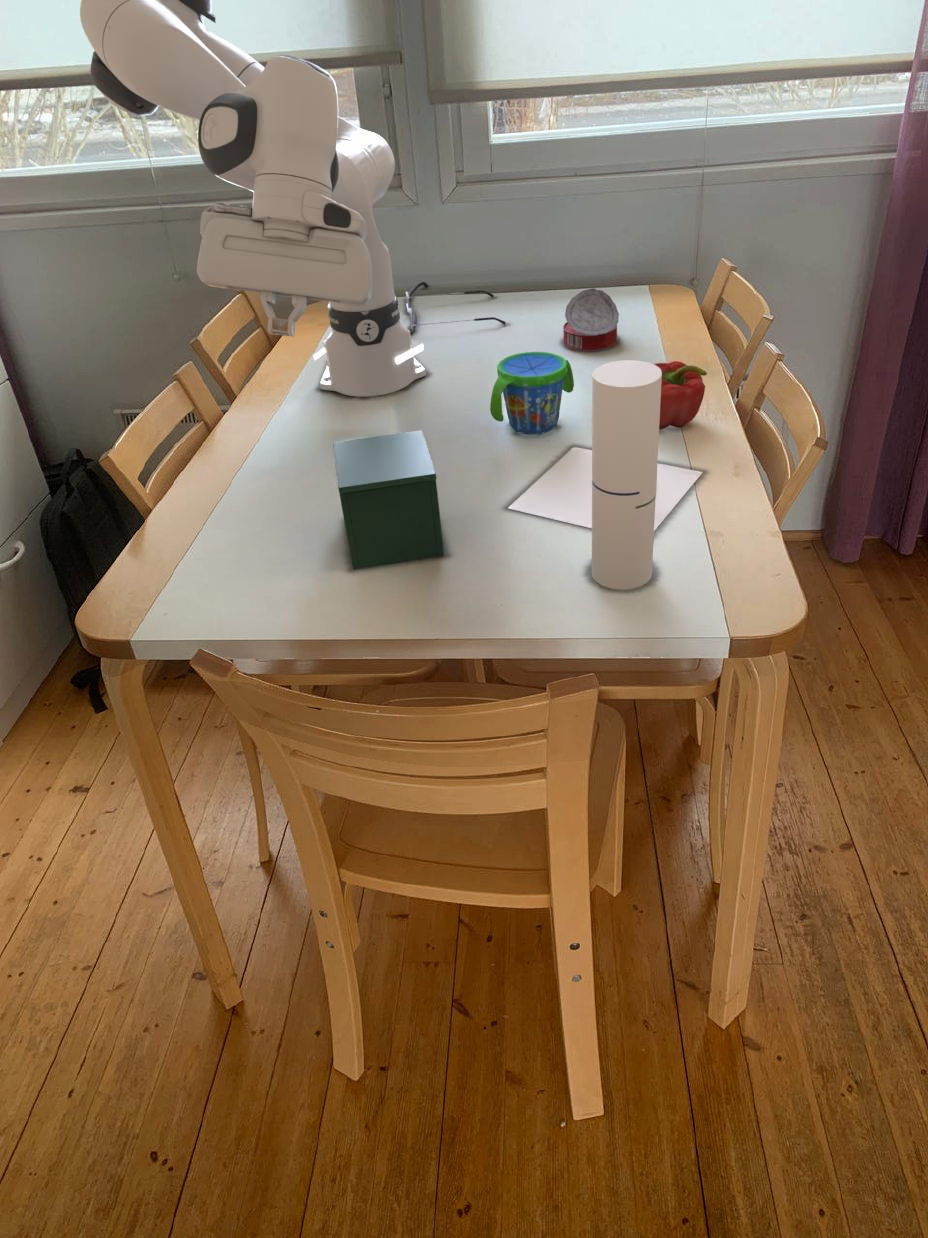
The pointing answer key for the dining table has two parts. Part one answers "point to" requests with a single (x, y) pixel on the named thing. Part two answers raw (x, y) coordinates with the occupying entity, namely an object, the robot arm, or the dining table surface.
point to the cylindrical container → (624, 471)
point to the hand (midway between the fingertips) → (280, 334)
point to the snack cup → (531, 390)
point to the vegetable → (680, 393)
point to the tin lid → (382, 461)
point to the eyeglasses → (452, 321)
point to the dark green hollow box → (393, 524)
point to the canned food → (591, 321)
